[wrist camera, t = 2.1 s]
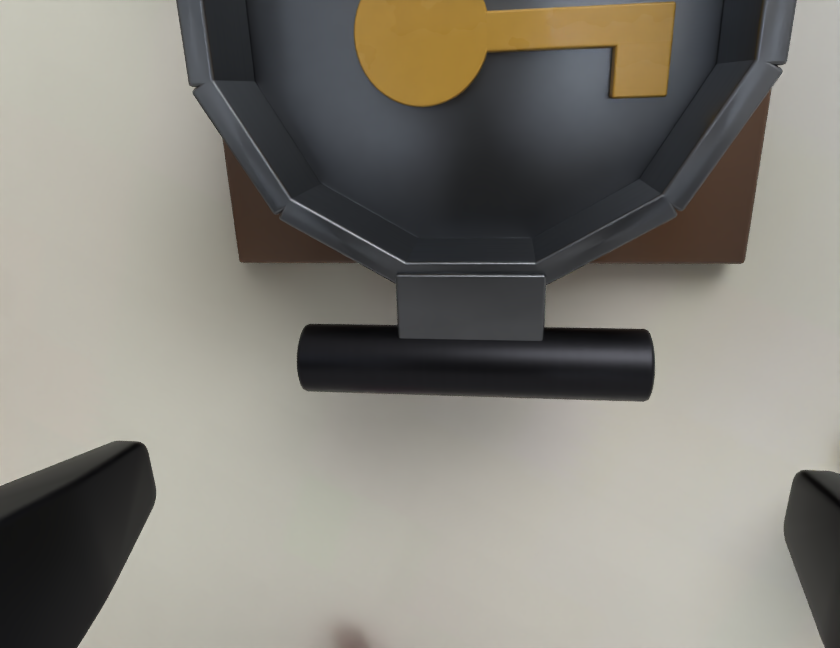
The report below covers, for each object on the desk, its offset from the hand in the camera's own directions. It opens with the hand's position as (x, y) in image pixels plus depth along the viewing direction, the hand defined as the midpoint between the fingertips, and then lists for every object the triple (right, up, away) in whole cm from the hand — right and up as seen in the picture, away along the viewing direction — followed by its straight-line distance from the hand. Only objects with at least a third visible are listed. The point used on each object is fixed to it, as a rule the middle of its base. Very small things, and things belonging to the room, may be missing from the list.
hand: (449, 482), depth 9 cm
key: (+2, +8, +3) cm, 9 cm away
